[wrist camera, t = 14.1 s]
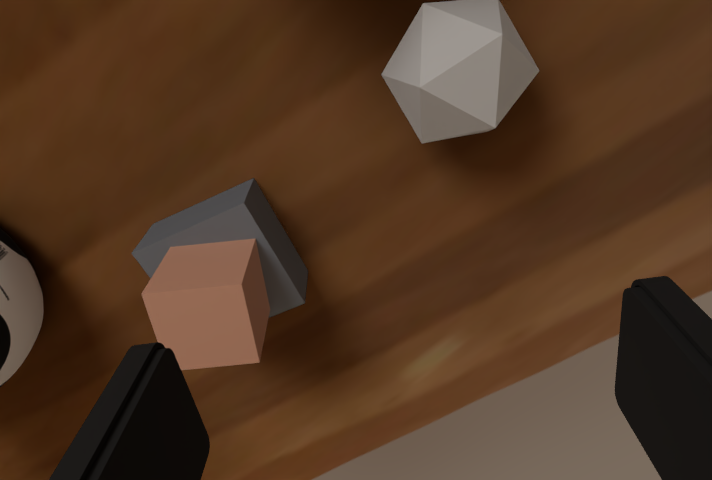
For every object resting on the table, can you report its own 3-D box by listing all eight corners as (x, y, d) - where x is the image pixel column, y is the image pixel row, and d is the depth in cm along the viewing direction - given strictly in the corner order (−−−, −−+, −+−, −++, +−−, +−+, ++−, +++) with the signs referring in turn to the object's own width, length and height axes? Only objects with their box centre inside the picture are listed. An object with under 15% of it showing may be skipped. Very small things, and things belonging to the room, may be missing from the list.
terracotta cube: (255, 238, 36) (241, 283, 31) (270, 309, 39) (259, 362, 33) (170, 246, 36) (141, 293, 31) (191, 317, 39) (167, 371, 34)
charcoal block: (254, 176, 39) (243, 202, 35) (308, 269, 43) (304, 303, 39) (154, 222, 41) (131, 253, 36) (214, 307, 45) (201, 344, 40)
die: (358, 83, 37) (413, 187, 32) (383, -37, 29) (458, 76, 25) (458, 70, 39) (522, 165, 35) (503, -43, 32) (590, 58, 28)
